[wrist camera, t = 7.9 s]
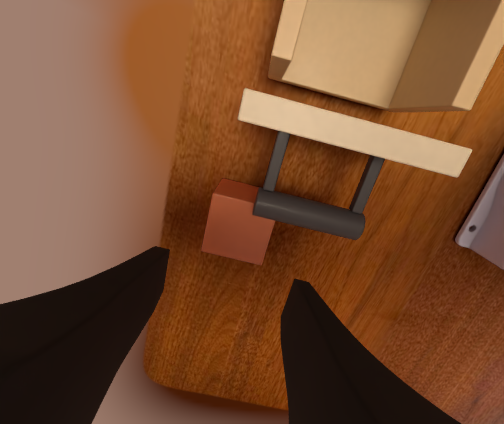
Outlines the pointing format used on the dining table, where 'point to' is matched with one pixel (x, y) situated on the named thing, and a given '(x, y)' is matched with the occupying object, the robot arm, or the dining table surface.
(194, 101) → the dining table surface
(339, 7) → the drawer
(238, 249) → the block
